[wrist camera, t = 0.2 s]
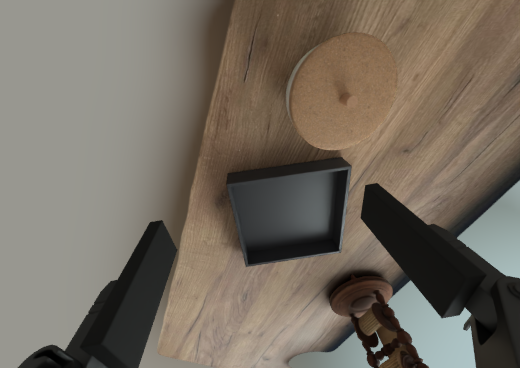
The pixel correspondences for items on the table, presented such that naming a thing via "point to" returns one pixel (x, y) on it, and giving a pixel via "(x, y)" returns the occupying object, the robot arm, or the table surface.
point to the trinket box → (342, 90)
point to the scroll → (375, 321)
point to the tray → (290, 210)
